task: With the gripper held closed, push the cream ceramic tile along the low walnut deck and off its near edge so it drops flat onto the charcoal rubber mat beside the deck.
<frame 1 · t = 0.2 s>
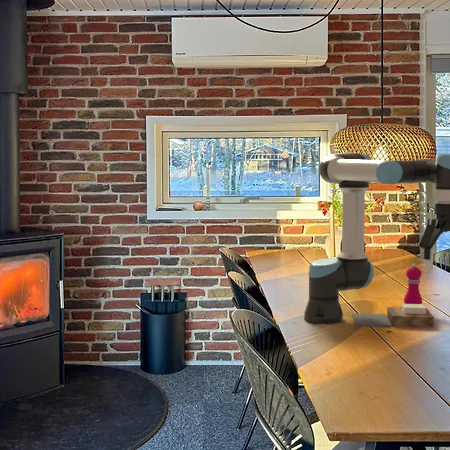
hand: (445, 267, 194), 28 cm above the table, fingers open, 13 cm apart
walnut deck: (409, 321, 231), on the table
pepper mill: (412, 311, 246), on the table
ceramic tile: (413, 311, 230), point 4 cm above the table, touching walnut deck
charcoal mat: (371, 320, 233), on the table
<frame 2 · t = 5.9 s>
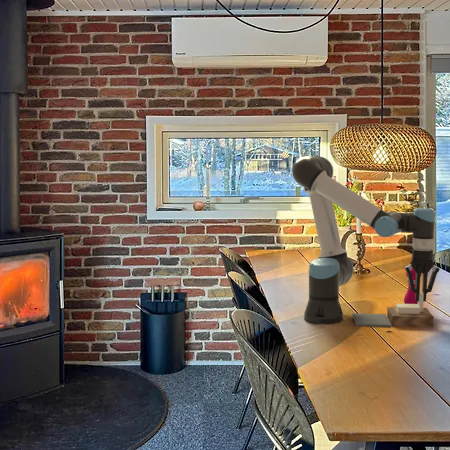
hand: (420, 309, 230), 5 cm above the table, fingers closed
ceramic tile: (407, 311, 230), point 4 cm above the table, touching gripper
everything else where it was.
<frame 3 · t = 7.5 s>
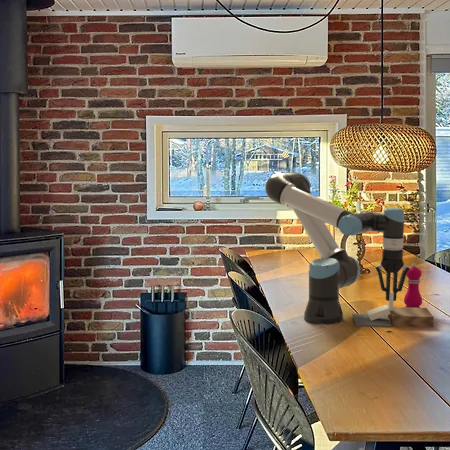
hand: (390, 308, 231), 5 cm above the table, fingers closed
ceramic tile: (379, 315, 232), point 2 cm above the table, tilted 22°, touching gripper
everything else where it was.
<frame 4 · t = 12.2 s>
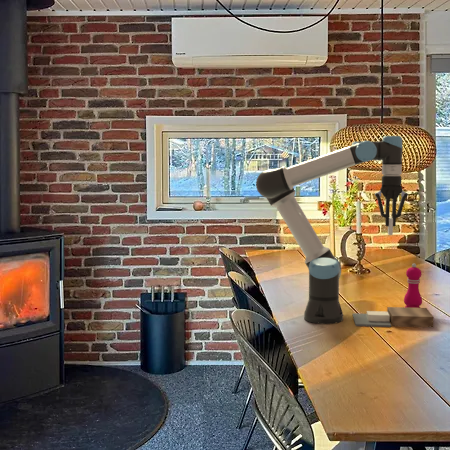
hand: (390, 234, 239), 32 cm above the table, fingers closed
ceramic tile: (377, 319, 232), point 1 cm above the table, touching charcoal mat
everything else where it was.
at the end: ceramic tile point 0.8 cm above the table; ceramic tile 2.5 cm from the charcoal mat (horizontally); ceramic tile tilted 0° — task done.
